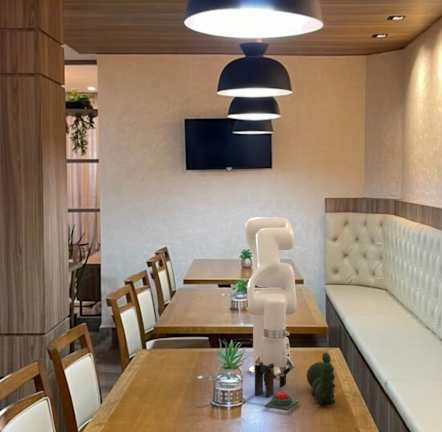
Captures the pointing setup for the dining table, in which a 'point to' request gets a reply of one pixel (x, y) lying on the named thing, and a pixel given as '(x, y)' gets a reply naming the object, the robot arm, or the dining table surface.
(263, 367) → the press lever
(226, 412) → the dining table surface
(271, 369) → the lever bracket
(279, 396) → the button
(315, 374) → the green bumpy upright shape
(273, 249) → the robot arm
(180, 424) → the dining table surface
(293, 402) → the console
